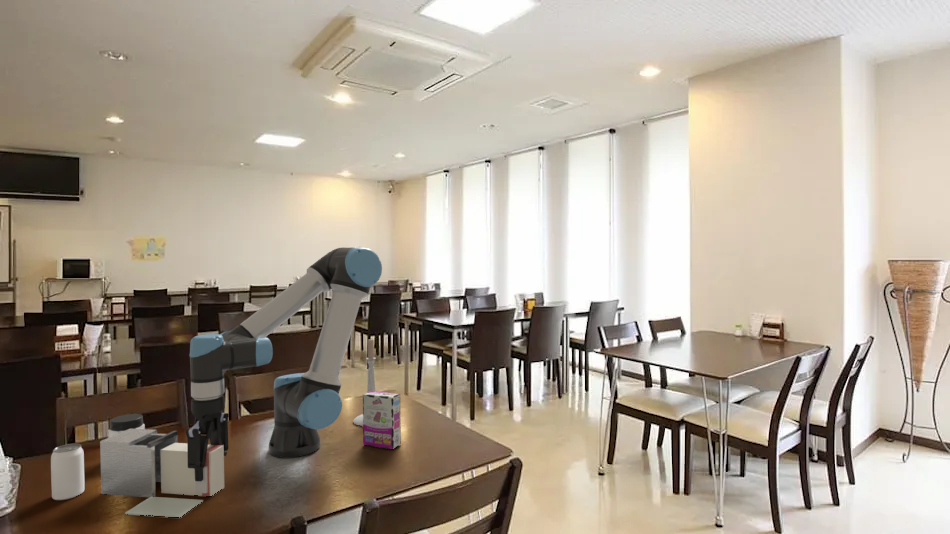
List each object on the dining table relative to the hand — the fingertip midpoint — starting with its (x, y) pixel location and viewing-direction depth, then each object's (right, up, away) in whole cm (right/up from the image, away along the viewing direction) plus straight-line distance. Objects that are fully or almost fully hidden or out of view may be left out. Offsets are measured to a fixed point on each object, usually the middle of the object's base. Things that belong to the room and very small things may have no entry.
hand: (209, 486), depth 131 cm
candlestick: (+30, 0, +54) cm, 62 cm away
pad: (-6, -1, -8) cm, 11 cm away
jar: (-36, -1, +22) cm, 42 cm away
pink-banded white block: (-5, -1, +1) cm, 5 cm away
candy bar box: (+38, 0, +31) cm, 49 cm away
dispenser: (-19, -1, +2) cm, 19 cm away
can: (-35, -2, -1) cm, 35 cm away
